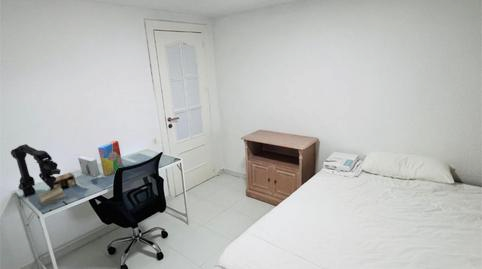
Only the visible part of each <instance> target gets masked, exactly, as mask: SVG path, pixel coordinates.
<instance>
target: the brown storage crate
mask: <svg viewBox="0 0 482 269" xmlns="http://www.w3.org/2000/svg"><path fill="white" fill-rule="evenodd" d="M55 177H56V181H55V182H54V185H53V189H51V188H50V191H53V190H56V189H59V188H62V187H64V186H66V187H68V188H69V189H70V188H73V187H75V186H77V181H76V177H75V175H74V174H73V173H72V172H68V173H65V174H60V175H58V176H55ZM62 189H63V188H62Z"/></svg>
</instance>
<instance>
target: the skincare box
mask: <svg viewBox="0 0 482 269" xmlns="http://www.w3.org/2000/svg"><path fill="white" fill-rule="evenodd" d="M77 159H78V163H79V167H80V170H81V173H83V174H85V175H89V176H92V177H97V176H99V175H101V172H100V168H99V165H98V162H97V161H98V160H97V158H93V157H89V156H87V155H86V156H85V155H81V156H78V158H77Z"/></svg>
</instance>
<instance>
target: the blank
mask: <svg viewBox="0 0 482 269" xmlns="http://www.w3.org/2000/svg"><path fill="white" fill-rule="evenodd" d="M63 193H64V190H63V188H59V189H56V190H53V191H52V190H50V191H47V192H44V193H41V194H38V197H39V198H38V199H39V202H41V203H42V204H43V203H46V202H49V201H52V200H55V199H57V198H60V197H63V196H64V194H63Z"/></svg>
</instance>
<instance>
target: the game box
mask: <svg viewBox="0 0 482 269" xmlns="http://www.w3.org/2000/svg"><path fill="white" fill-rule="evenodd" d="M97 149H98V154H99V158H100V163H101V169H102V173H103V176H110V175H111V174H113V173H115V172H116V171H117V170H116V169H117V168H119V167H121V168H123V166H124V165H123V160H122V156H121V150H120V145H119V141H118V140H113V141H110V142H108V143H106V144H103V145H101V146H99V147H97ZM115 170H116V171H115Z"/></svg>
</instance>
